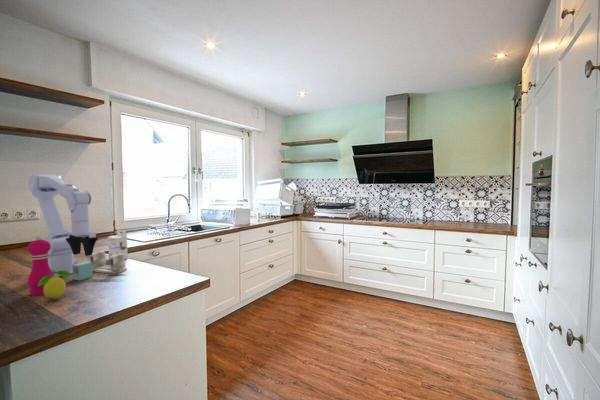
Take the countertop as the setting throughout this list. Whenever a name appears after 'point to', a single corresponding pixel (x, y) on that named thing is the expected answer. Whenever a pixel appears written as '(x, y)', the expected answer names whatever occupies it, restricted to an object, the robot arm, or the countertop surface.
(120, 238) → the ink box
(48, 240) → the robot arm
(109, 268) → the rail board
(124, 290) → the countertop surface
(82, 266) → the block
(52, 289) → the lemon
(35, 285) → the pepper mill
